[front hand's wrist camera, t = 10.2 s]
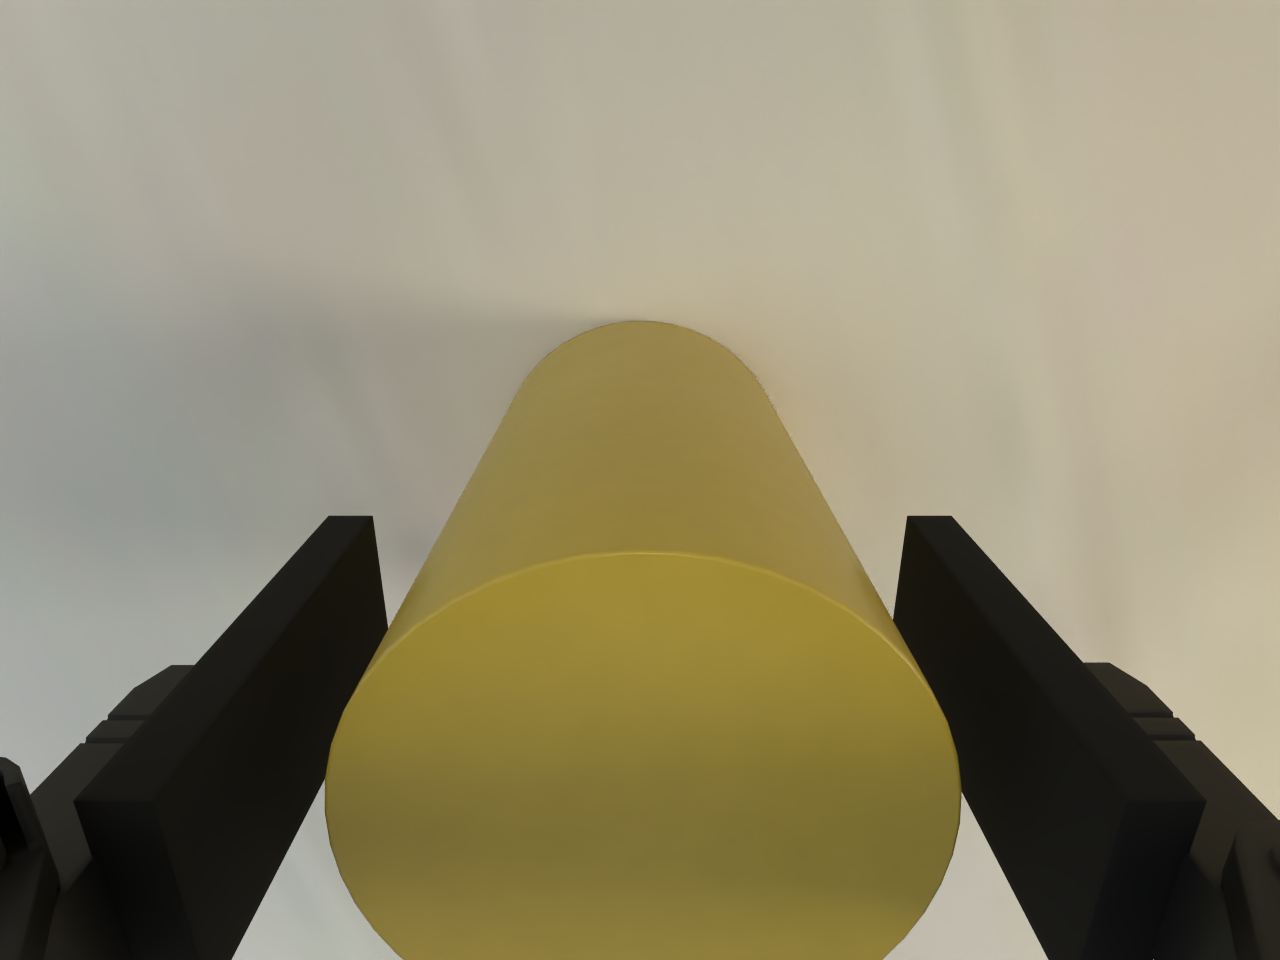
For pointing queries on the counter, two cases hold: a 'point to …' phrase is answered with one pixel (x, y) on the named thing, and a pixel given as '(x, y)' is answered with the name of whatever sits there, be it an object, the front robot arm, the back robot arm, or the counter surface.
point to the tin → (642, 694)
